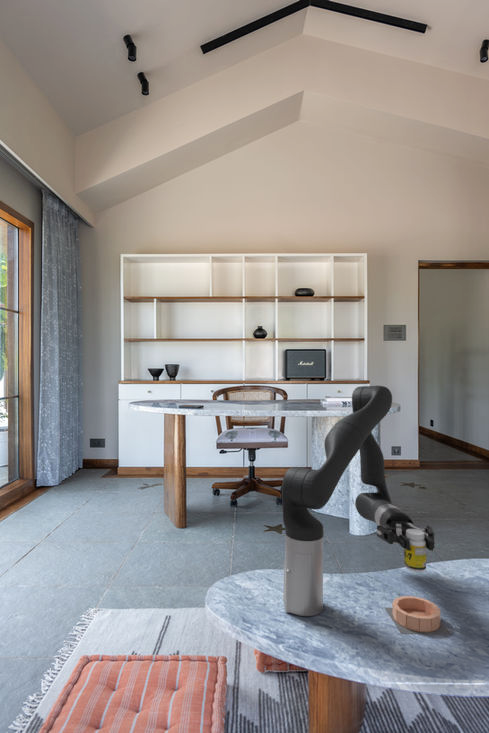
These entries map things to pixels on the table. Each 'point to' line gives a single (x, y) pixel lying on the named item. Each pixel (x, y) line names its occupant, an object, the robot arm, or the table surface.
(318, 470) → the robot arm
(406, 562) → the supplement bottle
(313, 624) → the table surface
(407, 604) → the bowl
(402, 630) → the mat
